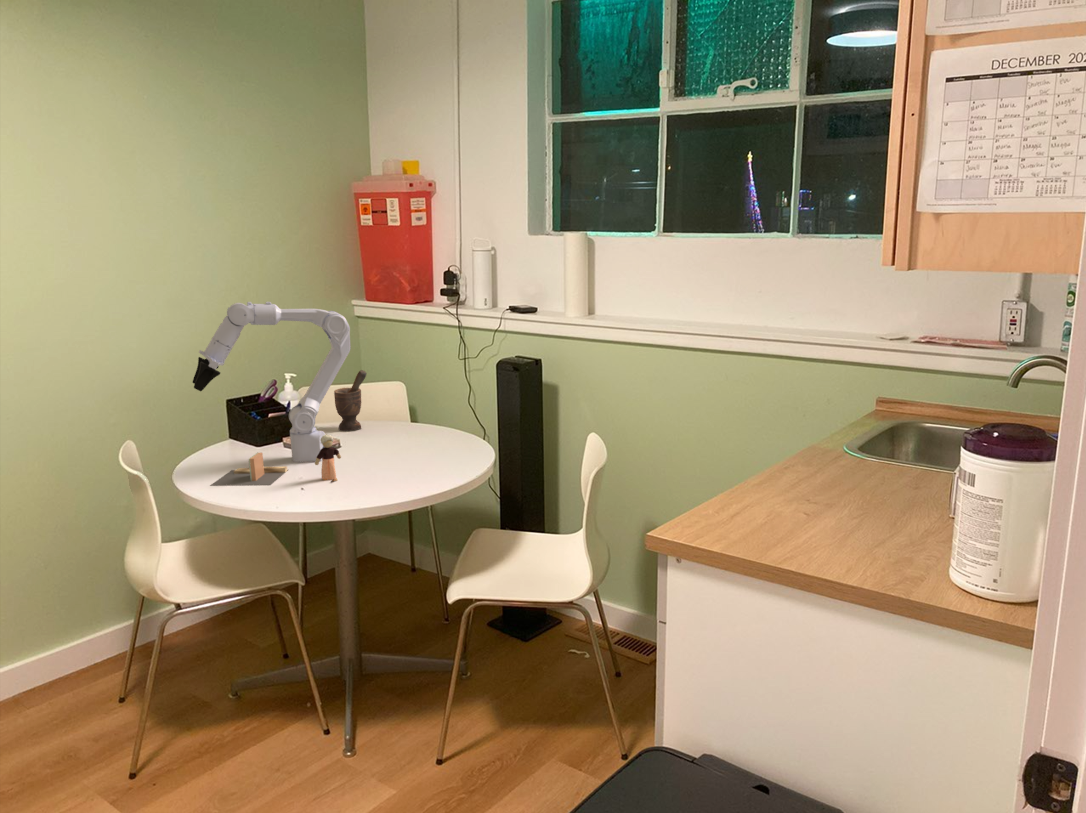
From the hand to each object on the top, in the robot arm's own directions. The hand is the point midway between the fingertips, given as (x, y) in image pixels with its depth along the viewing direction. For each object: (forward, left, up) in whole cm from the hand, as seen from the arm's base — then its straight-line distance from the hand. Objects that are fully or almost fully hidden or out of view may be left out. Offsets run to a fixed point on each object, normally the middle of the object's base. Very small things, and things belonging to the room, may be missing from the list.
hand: (196, 386), depth 234 cm
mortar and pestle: (-28, -49, -24) cm, 62 cm away
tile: (-17, +7, -23) cm, 30 cm away
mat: (-15, +7, -24) cm, 29 cm away
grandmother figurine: (-37, +8, -24) cm, 45 cm away
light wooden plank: (-15, +1, -23) cm, 28 cm away
